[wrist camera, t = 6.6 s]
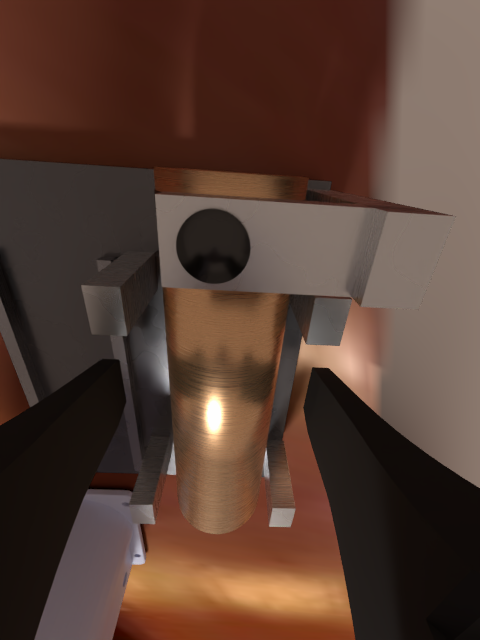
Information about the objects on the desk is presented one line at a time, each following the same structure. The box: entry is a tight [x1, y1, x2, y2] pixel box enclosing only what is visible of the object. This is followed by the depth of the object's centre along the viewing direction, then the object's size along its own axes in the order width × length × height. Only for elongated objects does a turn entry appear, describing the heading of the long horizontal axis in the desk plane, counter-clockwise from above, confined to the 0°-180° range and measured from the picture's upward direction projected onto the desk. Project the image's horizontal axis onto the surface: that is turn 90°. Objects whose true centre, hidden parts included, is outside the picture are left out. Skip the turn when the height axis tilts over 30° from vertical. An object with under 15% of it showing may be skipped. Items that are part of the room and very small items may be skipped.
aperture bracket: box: [155, 188, 456, 310], centre depth 7 cm, size 2×4×6 cm, turn 87°
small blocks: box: [81, 251, 352, 527], centre depth 12 cm, size 12×7×4 cm, turn 177°
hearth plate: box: [0, 159, 332, 477], centre depth 13 cm, size 16×12×2 cm
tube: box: [154, 167, 309, 534], centre depth 11 cm, size 14×4×4 cm, turn 176°
